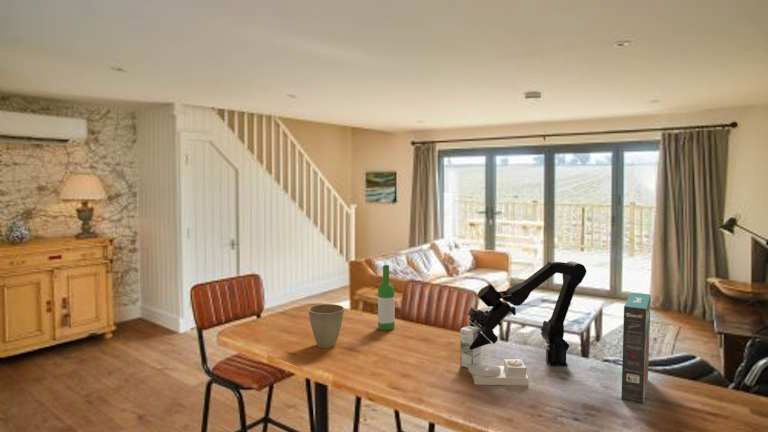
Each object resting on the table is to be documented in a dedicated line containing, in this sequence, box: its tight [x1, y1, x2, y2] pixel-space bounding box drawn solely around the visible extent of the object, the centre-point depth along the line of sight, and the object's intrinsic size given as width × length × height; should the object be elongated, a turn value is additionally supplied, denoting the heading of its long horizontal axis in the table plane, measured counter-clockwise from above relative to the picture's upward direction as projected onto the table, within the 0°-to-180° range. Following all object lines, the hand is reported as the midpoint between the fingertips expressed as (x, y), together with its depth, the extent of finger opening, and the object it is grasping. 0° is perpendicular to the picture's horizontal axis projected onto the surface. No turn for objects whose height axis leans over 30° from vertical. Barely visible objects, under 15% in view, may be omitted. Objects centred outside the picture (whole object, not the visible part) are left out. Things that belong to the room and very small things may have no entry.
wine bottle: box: [377, 264, 396, 331], centre depth 230 cm, size 8×8×30 cm
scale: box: [468, 358, 530, 386], centre depth 171 cm, size 20×11×6 cm, turn 87°
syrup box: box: [459, 325, 482, 370], centre depth 182 cm, size 6×6×14 cm
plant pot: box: [307, 303, 345, 349], centre depth 207 cm, size 15×15×16 cm
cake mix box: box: [621, 292, 652, 405], centre depth 161 cm, size 22×6×30 cm, turn 148°
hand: (467, 345), depth 182 cm, fingers closed on syrup box, 8 cm apart
